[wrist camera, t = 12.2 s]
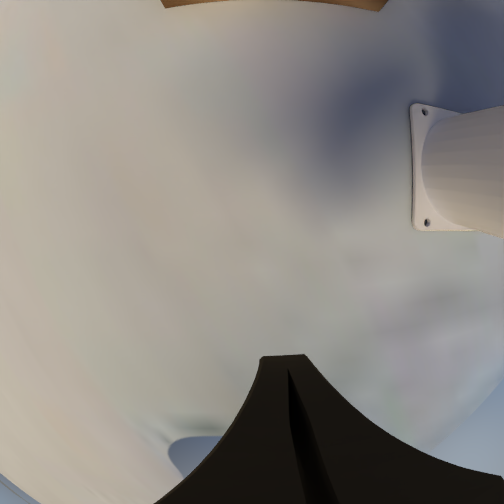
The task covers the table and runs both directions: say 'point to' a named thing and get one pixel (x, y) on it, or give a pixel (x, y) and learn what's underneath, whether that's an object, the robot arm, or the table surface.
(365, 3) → the jig
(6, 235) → the table surface
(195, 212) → the table surface
